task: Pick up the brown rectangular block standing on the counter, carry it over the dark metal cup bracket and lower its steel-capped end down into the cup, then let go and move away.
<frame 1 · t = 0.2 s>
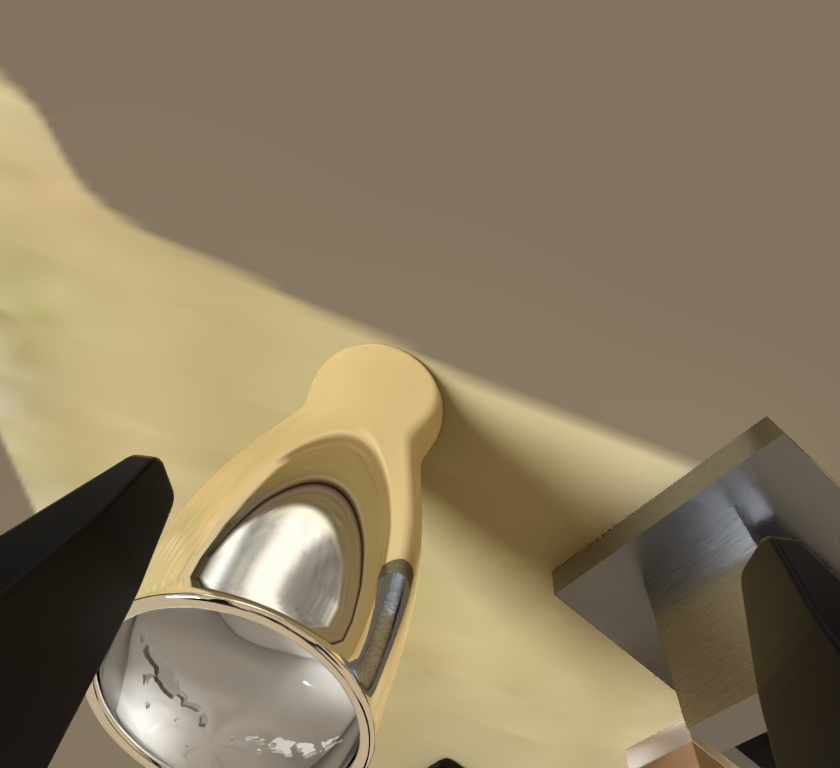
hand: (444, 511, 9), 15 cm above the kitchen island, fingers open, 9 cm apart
brown rectangular block: (680, 754, 32), on the kitchen island
beer glass: (377, 404, 26), on the kitchen island
cup bracket: (738, 578, 26), on the kitchen island
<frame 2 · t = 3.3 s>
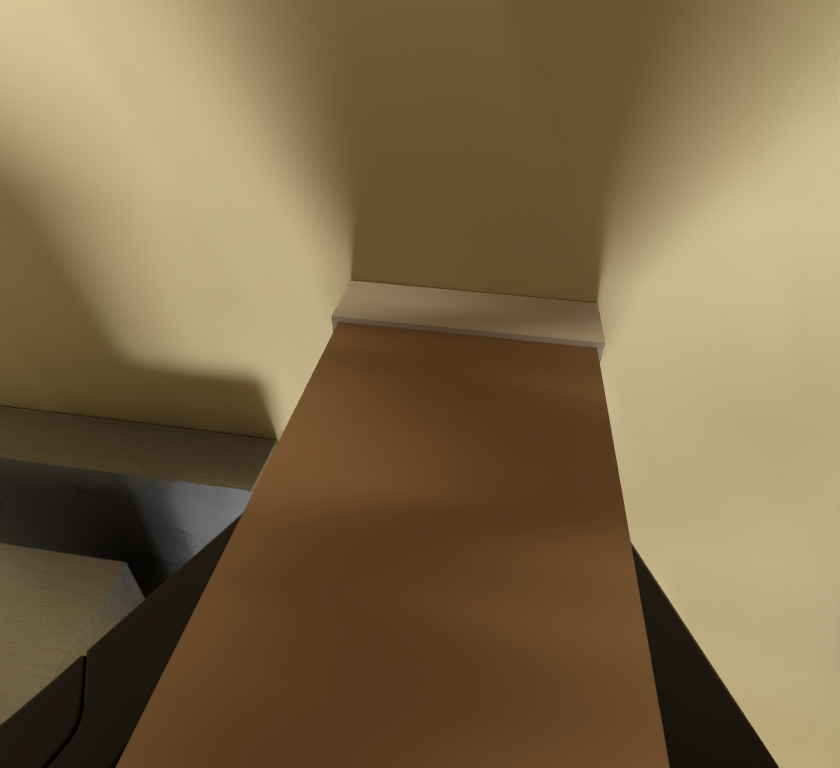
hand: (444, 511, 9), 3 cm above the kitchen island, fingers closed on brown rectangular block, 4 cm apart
brown rectangular block: (462, 388, 11), on the kitchen island, touching gripper
cup bracket: (110, 562, 17), on the kitchen island
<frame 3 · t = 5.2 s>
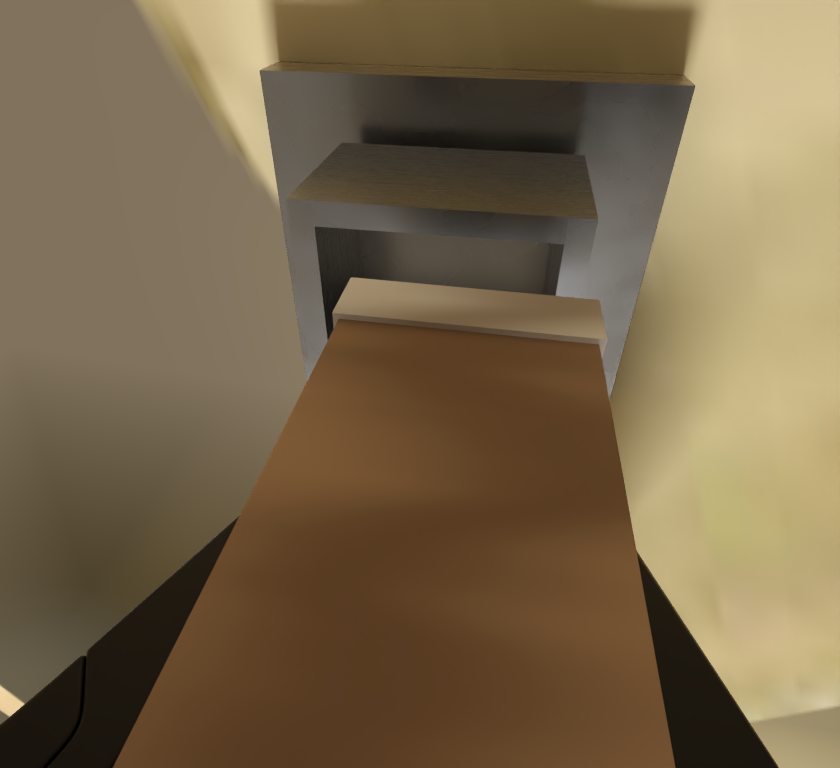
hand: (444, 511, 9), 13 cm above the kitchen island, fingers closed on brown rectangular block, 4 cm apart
brown rectangular block: (463, 385, 11), point 10 cm above the kitchen island, touching gripper
cup bracket: (461, 256, 20), on the kitchen island
when the fingers open (8 cm above the kitchen island, at t = 7.1 s): brown rectangular block drops 2 cm, resting on cup bracket.
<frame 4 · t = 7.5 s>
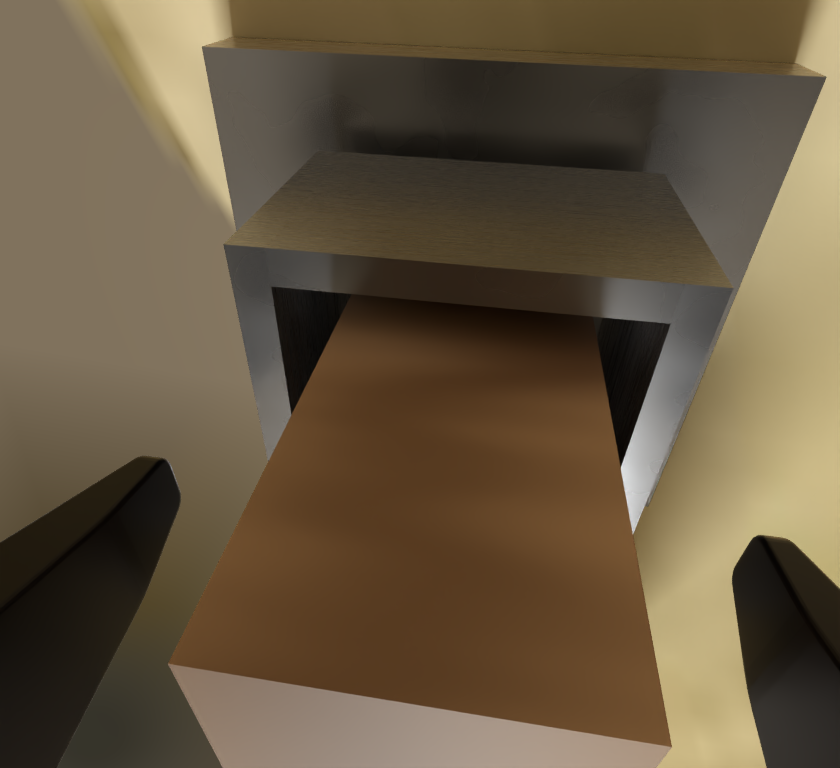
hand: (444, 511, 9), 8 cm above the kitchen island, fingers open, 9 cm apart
brown rectangular block: (472, 322, 13), point 3 cm above the kitchen island, touching cup bracket
cup bracket: (476, 296, 16), on the kitchen island
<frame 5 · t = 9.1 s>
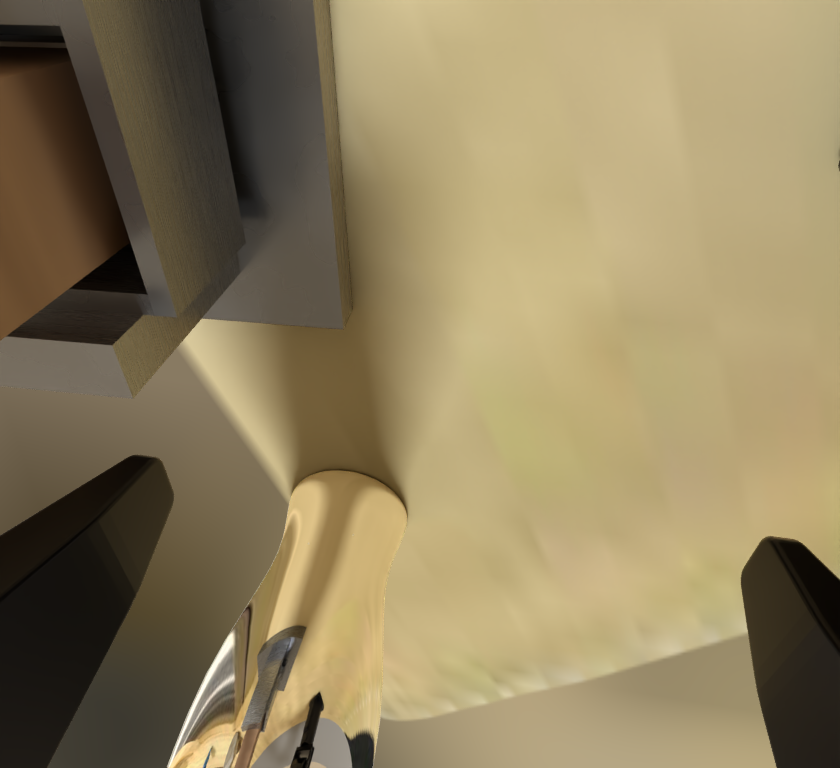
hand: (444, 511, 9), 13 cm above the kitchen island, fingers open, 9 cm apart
brown rectangular block: (97, 125, 16), point 3 cm above the kitchen island, touching cup bracket
beer glass: (350, 507, 29), on the kitchen island
cup bracket: (162, 136, 19), on the kitchen island
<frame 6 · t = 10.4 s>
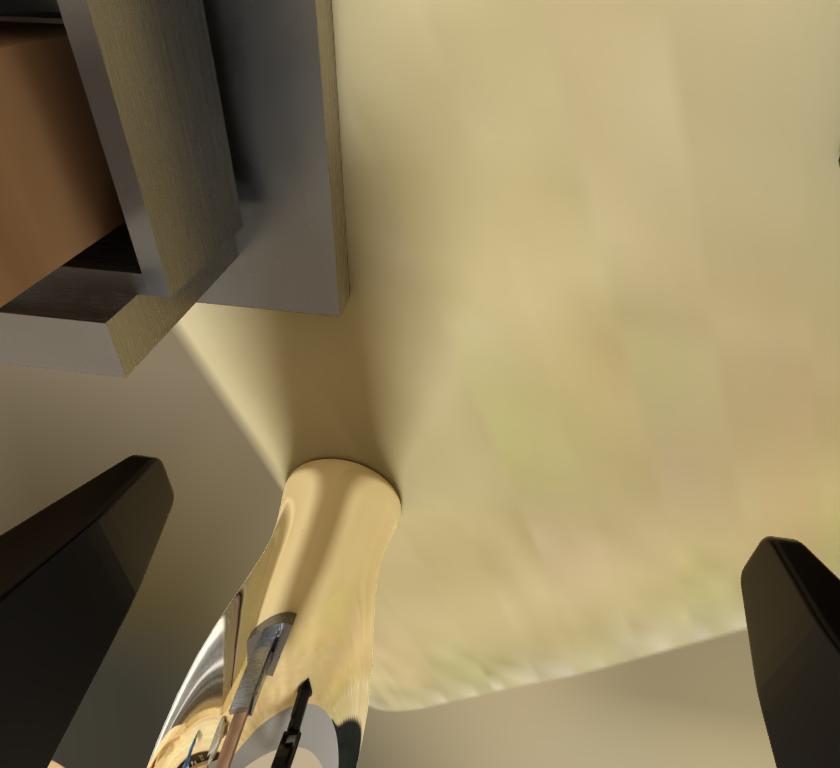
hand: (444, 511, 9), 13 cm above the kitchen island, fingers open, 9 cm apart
brown rectangular block: (95, 104, 15), point 3 cm above the kitchen island, touching cup bracket
beer glass: (344, 496, 29), on the kitchen island
cup bracket: (161, 118, 19), on the kitchen island
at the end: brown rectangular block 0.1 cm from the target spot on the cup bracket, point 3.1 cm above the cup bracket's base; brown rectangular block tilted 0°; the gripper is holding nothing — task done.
